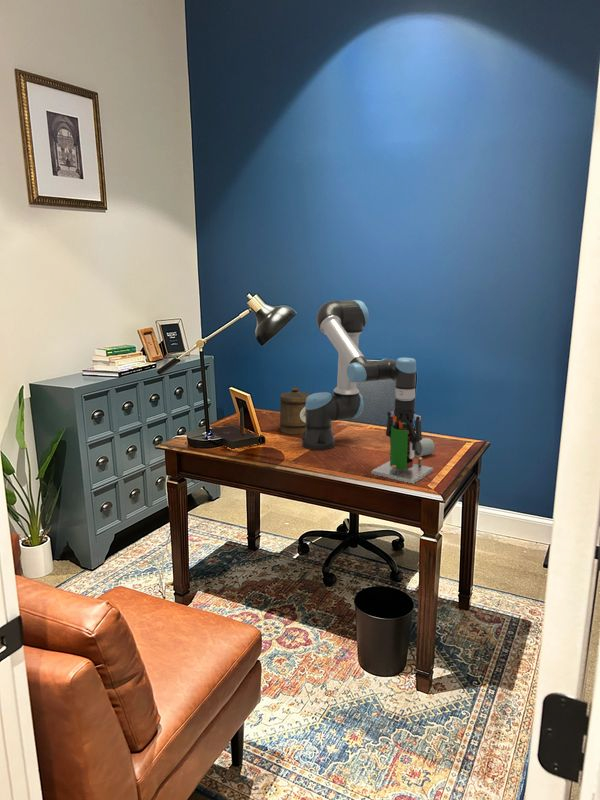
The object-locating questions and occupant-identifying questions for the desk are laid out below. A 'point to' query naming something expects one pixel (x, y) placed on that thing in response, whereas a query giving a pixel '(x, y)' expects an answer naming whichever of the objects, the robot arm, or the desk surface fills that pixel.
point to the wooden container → (293, 412)
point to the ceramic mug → (424, 447)
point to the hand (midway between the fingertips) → (402, 455)
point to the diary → (236, 436)
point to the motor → (400, 446)
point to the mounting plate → (403, 472)
